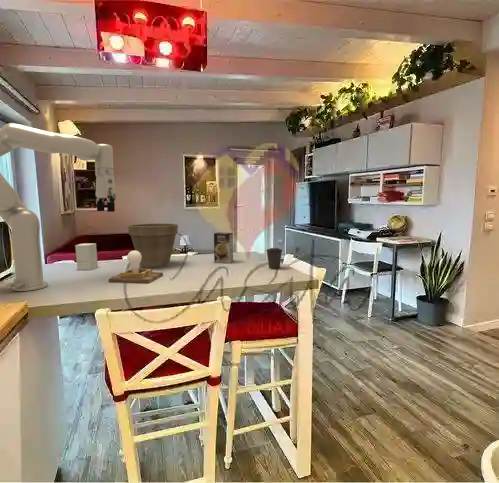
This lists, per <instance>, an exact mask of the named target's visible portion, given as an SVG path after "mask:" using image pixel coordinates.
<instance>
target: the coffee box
mask: <svg viewBox="0 0 499 483" xmlns="http://www.w3.org/2000/svg"><path fill="white" fill-rule="evenodd" d="M213 255H214V256H213V257H214V258H213V261H214V262H213V263H215V264H229V263H230V262H231V263H233V262H234V233H233V232H215V233H213ZM232 261H233V262H232ZM231 263H230V264H231Z"/></svg>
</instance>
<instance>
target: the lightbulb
mask: <svg viewBox="0 0 499 483" xmlns="http://www.w3.org/2000/svg"><path fill="white" fill-rule="evenodd" d="M126 257H127V258H126V259H127V261H128V263H129V264H130V267H131V268H132V271H133V273H139V269H140V262H141V259H142V256H141V254H140V252H138V251H135V249H134V250H131V251H129V252H128V253H127V256H126ZM131 268H130V269H131Z"/></svg>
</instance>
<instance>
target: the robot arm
mask: <svg viewBox="0 0 499 483" xmlns="http://www.w3.org/2000/svg"><path fill="white" fill-rule="evenodd" d="M18 148H23V149H27V150H32V151H37V152H41V153H42V152H43V153H47V154H68V155H73V156H75V157H76V159H78V160H80V161H94V172H95V177H96V179H95V193H94V194H95V195H94V196H95V199H96V201H95V202H96V210H97V212H104V211H105V202H104V200H105V199H106V201H107V202H106V208H107V212H108V213H110V212H111V213H113V212H116V211H115V210H116V209H115V207H116V205H115V202H116V197H117V192H116V191H117V190H116V182H115V177H114V151H113V150H114V148H113V146H112V145H110V144H107V143H98V144H97V143H96V142H95V141H93V140H90V139H88V138H84V137H80V136H75V135H71V134H70V135H69V134H65V133H59V132H53V131H48V130H44V129H39V128H35V127H32V126H28V125H24V124H20V123H15V122H9V123H6V124H4V125H3V126H2V127H1V128H0V157H3V156H5V155H6V154H9V152H13V151H14V150H16V149H18ZM0 217H1V219H2V220H3V221H4V222H5V223H6V224H7V226H8V227H9V228H10V230H11V246H12V256H13V257H12V258H13V264H14V278H13V281H12V282H9V283H6V285H5V287H6V289H11V291H14V292H28V291H30V292H31V291H35V290H41V289H43V288H47V287H48V286H49V282H48V281H44V271H43V269H44V268H43V261H42V248H41V247H42V246H41V237H40V236H41V231H40V230H41V227H40V226H41V224H40V219H39V217H38V215H37V214H36V213H35V212H34V211H32V210H30V209H28V208H27V207H26V206H25V205H24V204H23V202H22V201H21V199H20V196H19V194H18V192H17V190H15V189H14V188H13V186H12V185H11V184H10V183H9V182H8V180H6V178H5V177H4V175H3V174H2V173H1V172H0Z"/></svg>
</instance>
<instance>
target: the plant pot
mask: <svg viewBox="0 0 499 483" xmlns="http://www.w3.org/2000/svg"><path fill="white" fill-rule="evenodd" d="M178 227H179V225H178V224H177V223H167V222H165V223H161V222H160V223H139V224H130V225H129V224H128V225H127V229H128V235H129V236H130V238H131V242H132V245H133V247H134V250H135V251H138V252H140V254H141V256H142V259H141V262H140V264H139V267H141V268H143V269H156V268H159V269H160V268H165V267H167V266H169V264H170V262H171V258H172V253H173V249H174V244H175V240H176V236H177V234H178V229H179V228H178Z"/></svg>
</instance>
